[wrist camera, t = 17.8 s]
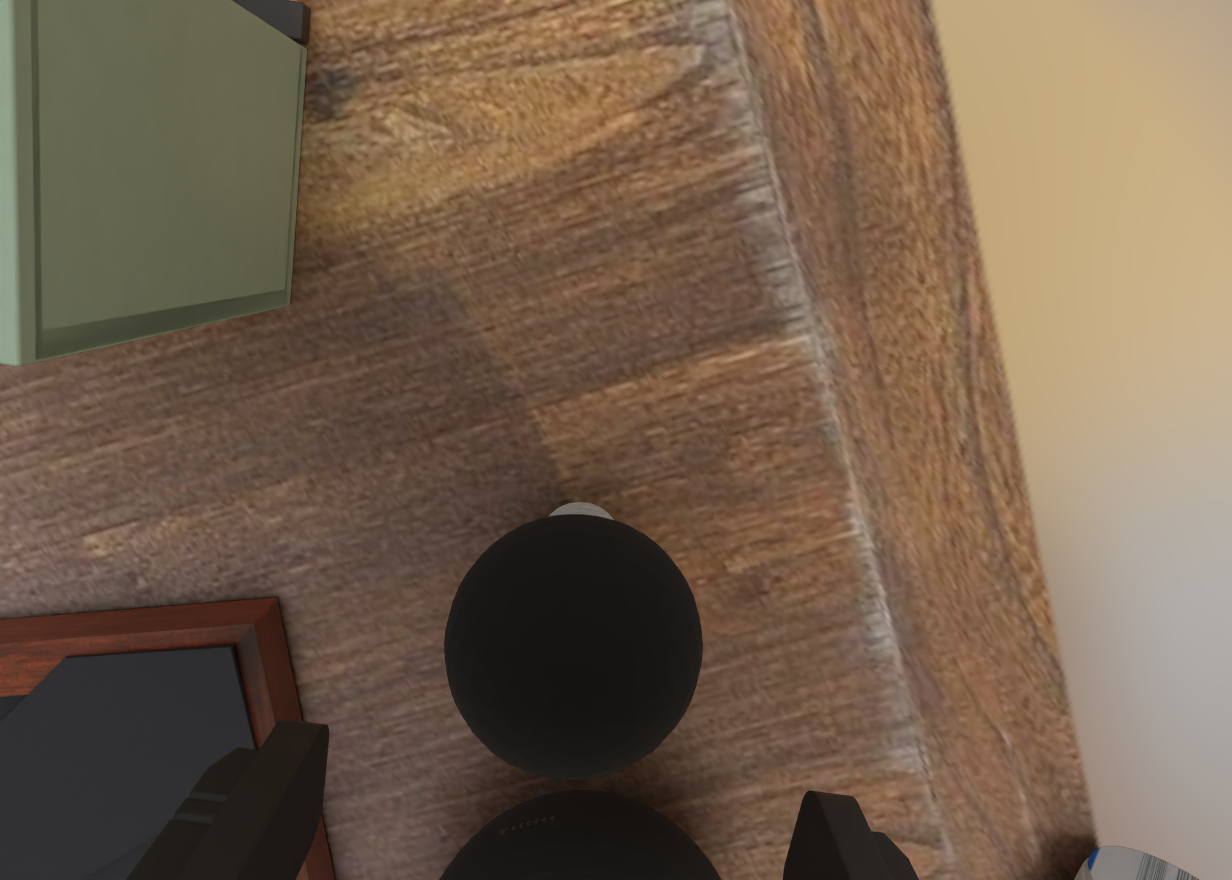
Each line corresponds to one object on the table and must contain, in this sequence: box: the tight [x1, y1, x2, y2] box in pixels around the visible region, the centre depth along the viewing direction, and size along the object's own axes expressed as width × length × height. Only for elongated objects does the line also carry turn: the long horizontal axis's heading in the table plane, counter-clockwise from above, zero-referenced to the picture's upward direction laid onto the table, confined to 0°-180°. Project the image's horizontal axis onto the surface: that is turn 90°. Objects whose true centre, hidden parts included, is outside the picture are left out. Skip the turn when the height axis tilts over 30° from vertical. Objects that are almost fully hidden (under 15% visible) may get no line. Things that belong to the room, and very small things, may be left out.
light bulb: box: [444, 502, 703, 780], centre depth 20 cm, size 6×6×10 cm
